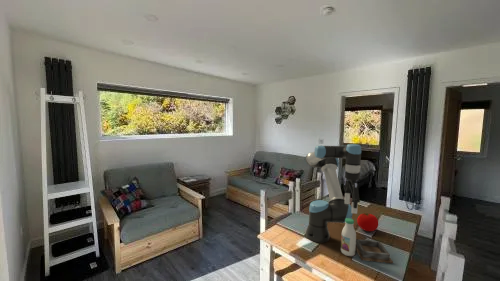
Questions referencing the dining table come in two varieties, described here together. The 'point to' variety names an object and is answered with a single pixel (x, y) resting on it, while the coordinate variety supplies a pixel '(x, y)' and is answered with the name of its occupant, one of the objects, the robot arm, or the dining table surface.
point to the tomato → (367, 222)
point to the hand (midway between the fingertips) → (350, 208)
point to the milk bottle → (348, 238)
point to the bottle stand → (372, 251)
